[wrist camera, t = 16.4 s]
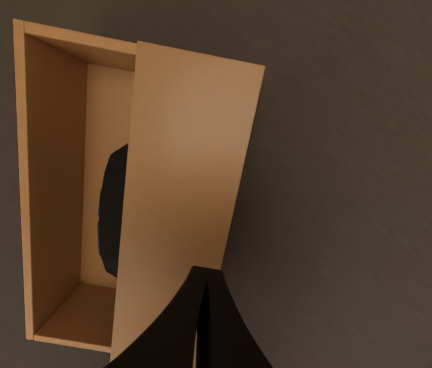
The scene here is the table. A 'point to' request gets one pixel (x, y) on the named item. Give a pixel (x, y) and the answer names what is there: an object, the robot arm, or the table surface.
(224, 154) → the flap
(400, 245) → the table surface
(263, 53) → the table surface
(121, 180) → the gaming mouse
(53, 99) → the carton
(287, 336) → the table surface
